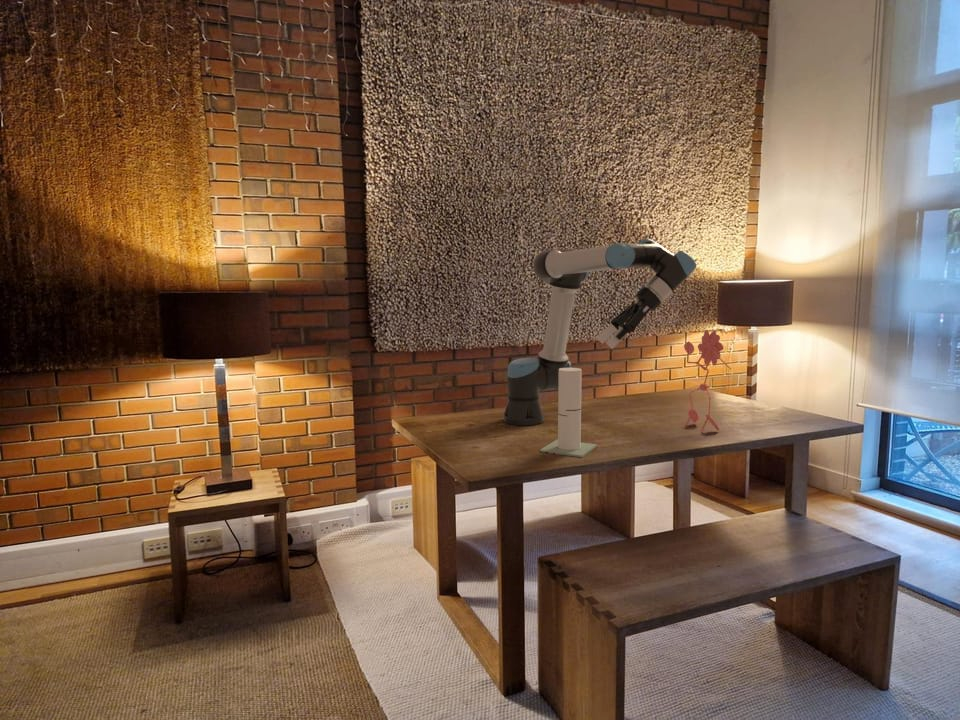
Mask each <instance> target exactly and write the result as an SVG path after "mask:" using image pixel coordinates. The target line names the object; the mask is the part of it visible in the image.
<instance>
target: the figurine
mask: <svg viewBox="0 0 960 720" xmlns="http://www.w3.org/2000/svg"><path fill="white" fill-rule="evenodd" d="M720 339H721V337H720V335H719V334H717V332H716V330H713V331H711V332H709V330H708V329H705V330H704V332H703V335H702V336H701V343H699V344H698V345H697V349H698V351H699V352H700V353H701V354H700V357H699V359H698V360H697V361H689V356H690V355H692V354H693V353H694V352H695V347H694V345H693V343H692V342H690V341H689V340H688V341H685V343H684V345H683V348H684V351H685V352H686V353H687V354H686V363H687V364H696V365H698V366H699V367H700V368H701V369H703V370H704V371H706V374H705V379H704V383H701V384H699V388H696V389H694V390H692V391H689V393H688V395H689V400H690V405H691V406H690V407H691V409H689V410H688V412H687V413H688V414H687V415H688V419H687V420H686V423H685V427H688V426H689V425H688V424H689V422H690V420H691V421H692V422H693V423H694V424H696V423H697V422H698V421H699V420H700V419H699V418H700V417H699V414H698V412H697V411H696V410H695V409H693V402H692V393H694V392H697V391H699V390H700V391H702V392H706V393H707V395H708V397H709V400H708V401H709V402H708V413H706V414H705V417H706V418H705V419H703V421H705V422H704V423H703V426H702V427H701V430H700V432H702V433H703V431H704V430H705V428H706V424H707V423H708V422H709V423H710V424H711V426H713V427H714V428H715V429H716V430H717V431H718V432H719V431H720V428H719V427H718V425H717V423H718V424H722V425H726V426H728V427H730V428H732V426H731V425H729V424H728V423H724V422H719V421H717V422H716V421H714V419H713V417H711V415H710V413H711V395H710V393H709V391H708V385H707V384H706V383H707V378H708V375H709V373H710V371H709V369H708V367H709V365H710V363H711V364H712V365H714V366H716V365H717V363H718V360H719V361H721V362H722V363H723V364H724V365H725V367H727V368H728V369H729V370H732V368H731V367H730V366H729V364H727V363H726V362H725V361H724V360H723V359H722V358H721V351H723V350H724V345H723V344H722V342H720ZM701 360H703V361H704V362H703V363H704V365H705V366H704V365H702V364H700V361H701Z"/></svg>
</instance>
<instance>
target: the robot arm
mask: <svg viewBox="0 0 960 720" xmlns="http://www.w3.org/2000/svg"><path fill="white" fill-rule="evenodd" d="M645 268H646V269H647V268H648V269H650V270H651V271H653V272H654V273H656V274H655V275H653V276H652V277H651V278H650V279H649V280H648V281H647V282H646V283H645V286H643V287H642V288H641V289H639V291H638V292H636V294H635V297H636V299H638V301H637V302H636V301H633V302H631V304H629V306H627V307H626V308H624V310H622V311H621V312H620V313H619V314H618V315H616V316H615V317H614V318H612V319H611V321H610V324H609V325H608V326H607V327H605V329H604V330H602V331H601V332H600V333H599V335H597V336H596V339H597V340H598V341H599V342H600V343H601V344H602V345H603V344H604V343H605V344H606V345H607V346H608V347H609V348H610V349H612V350H613V349H614V348H615V347H616V346H617V345H618V344H619V343H620V342H621V341H622V340H623V339H624V338H625V337H626V336H627V335H628V334H630V333H633V332H634V331H635V329H636V328H637V327H638V326H639V324H640V323H641V322H642V321H643V320H644V319H645V317H646V316H647V314H648V313H649V312H650V311H651V312H654V311H655V310H657V308H659V306H660V305H662V302H665V300H666V299H669V298H671V294H672V293H673V292H674V291H675V290H676V289H677V288H678V287H679V286H680V285H681V284H683V282H685V280H687V278H689V277H690V275H692V273H693V272H694V271H695V270H696V268H697V263H696V261H695V260H694V258H693V257H692V256H691V255H690V254H689V253H687V252H686V251H683V250H679V251H678V252H676V253H675V254H674V253H672V252H670V251H669V250H668V249H667V248H665V247H663V246H662V245H661V244H660V243H658V242H657V241H655V240H653V239H650V238H647V237H646V238H643V239H641V240H639V241H638V242H636V243H627V242H618V243H613V244H611V245H604V246H597V247H591V248H590V247H589V248H583V249H571V248H569V249H544V250H542V251H540V252H539V253H537V255H536V256H535V257H534V259H533V262H532V269H533V273H534V274H535V276H536V278H538V279H539V280H541V281H543V282H547V283H548V285H549V287H550V288H551V295H550V303H549V309H548V315H547V322H546V329H545V335H544V343H543V349H542V350H541V351H539V352H538V355H537V358H536V357H523V358H517V359H514V360H512V361H510V362H509V364H508V366H507V403H506V406H505V409H504V412H503V422H504V423H505V424H508V425H513V426H534V425H535V426H536V425H539V424H542V423H543V422H544V421H545V420H544V413H543V409H542V407H541V404H540V392H545V391H551V390H558V387H559V369H560V368H573V367H572V363H571V362H570V360H569V356H568V355H567V353H566V352H567V351H566V350H567V345H568V340H569V332H570V327H571V320H572V316H573V308H574V307H573V306H574V303H575V302H574V301H575V296H576V292H578V291H579V290H581V287H582V286H581V285H582V282H584V281H585V280H586V279H587V278H589V275H590V272H592V273H593V272H600V271H608V270H609V271H610V270H620V269H621V270H622V269H623V270H624V269H645Z"/></svg>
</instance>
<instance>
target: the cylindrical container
mask: <svg viewBox="0 0 960 720" xmlns="http://www.w3.org/2000/svg"><path fill="white" fill-rule="evenodd" d="M582 371H583V370H582V368H579V367H578V368H577V367H572V368H560V369H559V387H558V389H557V390H558V393H557V394H558V395H557V396H558V397H557V398H558V405H557V406H558V407H557V409H558V410H557V411H558V412H557V413H558V414H557V420H558V421H557V424H558V425H557V439H558V448H560V449H564V450H577V449H580V448H581V441H582V440H581V439H582V433H581V432H582V377H583V375H582Z"/></svg>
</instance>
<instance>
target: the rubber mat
mask: <svg viewBox="0 0 960 720" xmlns="http://www.w3.org/2000/svg"><path fill="white" fill-rule="evenodd" d="M597 447H598V443H597V444H596V443H590V442H581V448H580V449H577V450H564V449H560V448H558V438H557V439H555V440H553V441H552V442H550V443H548V444H547V445H546V446H544V447H542V448H540V449H539V452H540V451H541V452H540V453H545V452H548V453H547V454H553V453H555V455H561V456H562V455H563V456H568V457H569V456H570V457H576V458H584V457H585V456H586V455H588V454H589V453H590V452H591V451H594V449H595V448H597Z"/></svg>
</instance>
